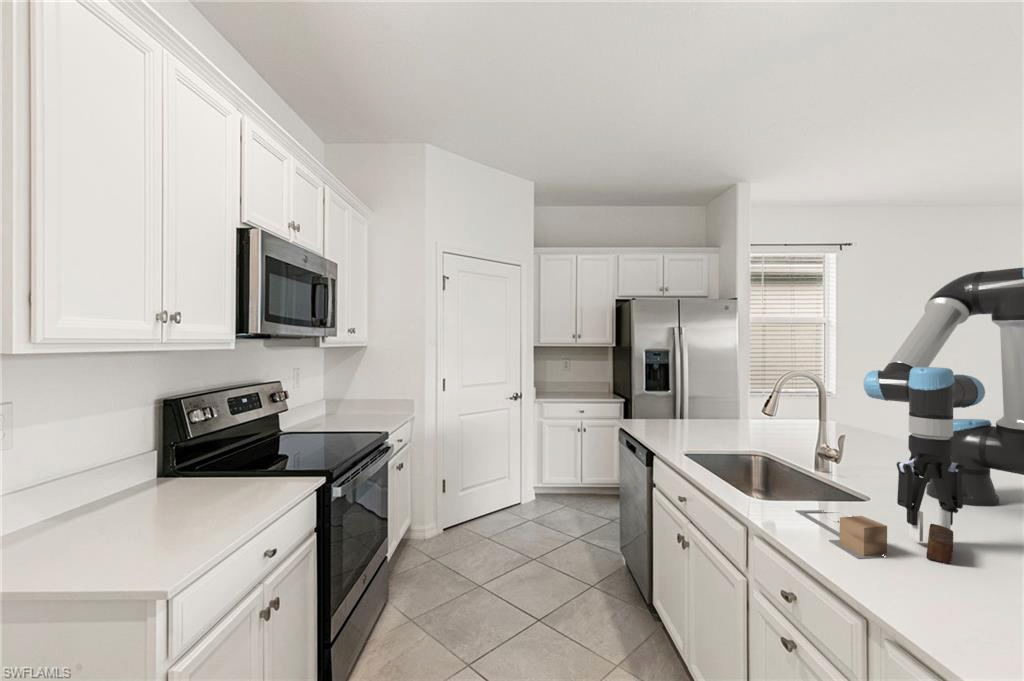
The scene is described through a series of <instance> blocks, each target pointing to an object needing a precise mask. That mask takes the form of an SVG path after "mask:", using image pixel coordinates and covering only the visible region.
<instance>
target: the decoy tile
mask: <svg viewBox="0 0 1024 681" xmlns="http://www.w3.org/2000/svg"><path fill="white" fill-rule="evenodd" d="M839 541H840V539H828V542H830V543H831V544H833V545H835V546H836V547H837V548H840V549H841V550H843V551H845V552H846V553H848V554H849V555H851V556H853V557H854V558H855V559H857V560H865V559H866V560H869V559H885V558H884V556H885V555H886V554H885V555H884V556H882V555H883V554H877V555H866V556H863V555H861V554H859V553H857V552H855V551H853V550H851V549H849V548H847V547H845V546H843V545H841V544H839Z"/></svg>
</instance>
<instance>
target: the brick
mask: <svg viewBox="0 0 1024 681" xmlns="http://www.w3.org/2000/svg"><path fill="white" fill-rule="evenodd" d="M926 546H927V547H926V548H927V549H926V559H927V560H931V561H934V562H937V563H940V562H941V564H943V563H944V565H949V564H950V563H951V562H952V559H953V553H954V531H953V530H952V529H951V528H950V529H948V528H946V527H943V526H940V525H936V523H930V524H929V528H928V538H927V545H926Z"/></svg>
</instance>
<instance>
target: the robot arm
mask: <svg viewBox="0 0 1024 681" xmlns="http://www.w3.org/2000/svg"><path fill="white" fill-rule="evenodd" d="M976 315H990V316H991V322H992V323H993V324H995V325H996V326H998V327H999V330H1000V331H999V332H1000V334H999V335H1000V336H999V337H1000V356H1001V358H1000V359H1001V377H1002V378H1001V380H1002V381H1001V382H1002V406H1003V407H1002V408H1003V409H1002V411H1003V416H1002V417H1001V418H999V419H998V420H997V421H996V422H995V426H994V425H992V422H991V420H989V419H983V418H982V419H980V418H954V409H957V408H958V409H959V408H961V409H964V408H969V407H971V406H975V405H978V404H979V403H981V402H982V401H983V399H984V398H985V396H986V389H985V386H984V384H983V382H981V381H980V379H978V378H976V377H974V376H972V375H967V374H958V373H957V374H954V371H953V370H952V369H951V368H947V367H934V366H931V367H930V365H932V362H933V361H934V360H935V358H936V357H937V355H938V354H939V353H940V351H941V350H942V348H943V347H944V346H945V344H946V342H947V341H948V339H949V338H950V336H951V335H952V334H953V332H954V331H955V329H956V328H957V327H958V325H961V324H964V323H965V322H966V321H967V320H968V318H969V317H971V316H976ZM863 388H864V392H865V394H866V395H867V396H868V397H869V398H872V399H876V400H881V401H889V402H900V403H908V404H909V405H908V432H909V433H910V434H909V435H908V444H907V445H908V448H907V449H908V451H909V452H910V457H909V458H908V461H905V462H901V461H897V462H896V468H897V471H898V477H897V478H898V481H897V482H898V483H897V499H896V500H897V502H896V503H897V505H898V506H899V507H903V508H906V523H908V537H909V538H911V539H913V540H915V541H917V542H920V543H921V542H924V512H923V511H921V510H920V509H921V505H922V502H923V498H924V495H925V491H926V495H927V496H929V497H931V498H933V499H935V500H937V501H938V504H939V507H936V508H935V515H936V516H935V524H936V525H940V526H943V527H946V528H948V529H950V530H951V526H952V525H953V520H954V514H957V513H958V512H959V509H960V510H962V509H963V507H964V506H971V507H995V506H998V505H1000V497H999V495H998V493H996V492H997V491H996V490H995V485H994V483H993V480H992V478H991V469H992V470H997V471H1001V472H1006V473H1011V474H1018V475H1022V476H1024V267H1016V268H1005V269H995V270H987V271H986V270H985V271H975V272H971V273H967V274H964V275H962V276H960V277H957V278H956V279H953V280H952V281H950V282H947V284H945V285H944V286H942V287H941V288H940V289H938V290H937V291H936V292H935V293H934V294H933V295H932V296H931V297H930V298H928V301H927V302H926V303H925V305H924V314H923V315H922V317H920V319H919V320H918V322H917V323H916V325H915V326H914V327H913V329H912V330H911V331H910V333H909V334H908V336H907V337H906V338H905V340H904V341H903V342H902V344H901V346H900V347H899V348H898V349H897V351H896V352H895V354H894V355H893V357H892V358H891V359H890V360H889V362H888V363H887V365H886V366H885V367H884V369H883V370H880V369H877V370H871V371H869V372H867V373H866V374H865V376H864V379H863Z"/></svg>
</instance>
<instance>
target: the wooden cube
mask: <svg viewBox="0 0 1024 681" xmlns="http://www.w3.org/2000/svg"><path fill="white" fill-rule="evenodd" d="M839 519H840V522H839V524H840V525H839V533H840V537H839V540H840V541H839V544H841V545H843V546H845V547H847V548H849V549H851V550H853V551H855V552H857V553H859V554H861V555H863V556H866V555H877V554H885V553H886V554H888V525H885V524H883V523H882V522H879V521H876V520H874V519H871V518H869V517H866V516H863V515H856V516H855V515H853V516H852V517H848V516H841V517H839ZM886 554H885V555H886Z"/></svg>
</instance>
